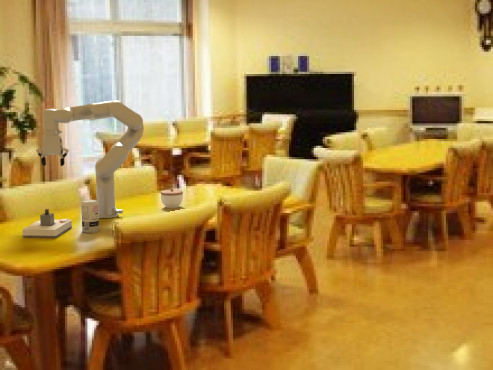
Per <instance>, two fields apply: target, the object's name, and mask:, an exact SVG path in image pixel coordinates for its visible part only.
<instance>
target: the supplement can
mask: <svg viewBox="0 0 493 370" xmlns="http://www.w3.org/2000/svg"><path fill="white" fill-rule="evenodd" d="M80 209H81V211H80V213H81V214H80V216H81V230H82V232H83V233H86V234H94V233H97V232H99V230H100V218H99V208H98V202H97V199H85V200H82V201H81V204H80Z"/></svg>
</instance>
